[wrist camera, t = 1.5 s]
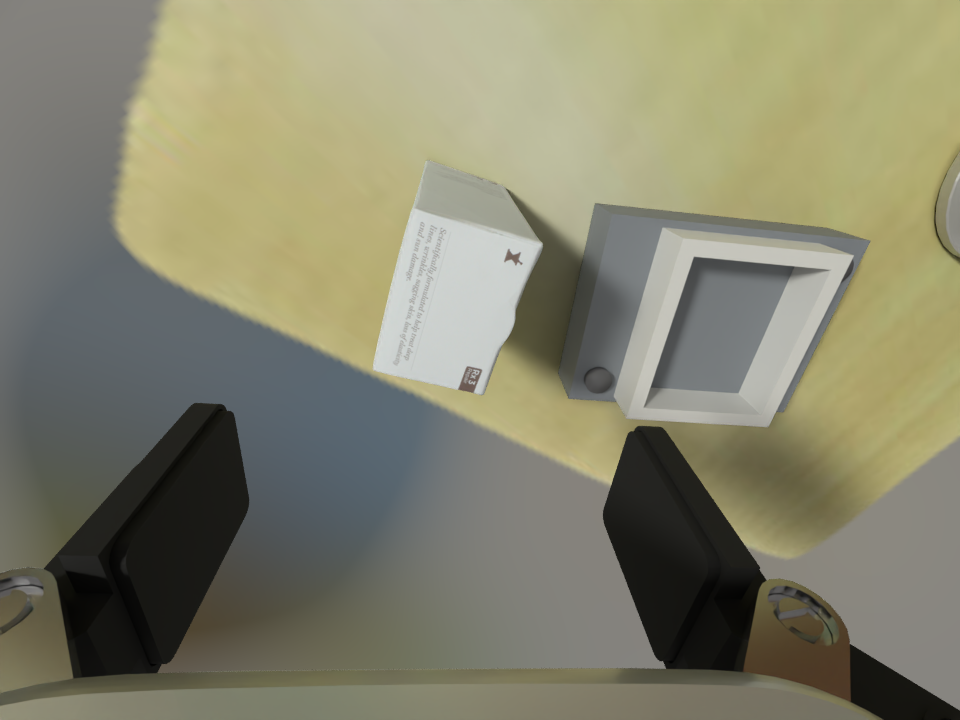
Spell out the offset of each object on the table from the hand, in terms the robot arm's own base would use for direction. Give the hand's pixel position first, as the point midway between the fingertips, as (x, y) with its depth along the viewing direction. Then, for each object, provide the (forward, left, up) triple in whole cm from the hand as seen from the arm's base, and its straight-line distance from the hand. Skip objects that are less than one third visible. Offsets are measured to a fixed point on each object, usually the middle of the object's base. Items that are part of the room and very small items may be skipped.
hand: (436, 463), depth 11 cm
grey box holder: (-19, +4, -25) cm, 32 cm away
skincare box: (0, 0, -25) cm, 25 cm away
